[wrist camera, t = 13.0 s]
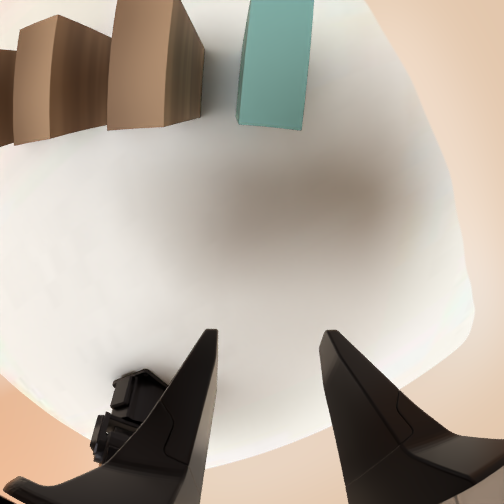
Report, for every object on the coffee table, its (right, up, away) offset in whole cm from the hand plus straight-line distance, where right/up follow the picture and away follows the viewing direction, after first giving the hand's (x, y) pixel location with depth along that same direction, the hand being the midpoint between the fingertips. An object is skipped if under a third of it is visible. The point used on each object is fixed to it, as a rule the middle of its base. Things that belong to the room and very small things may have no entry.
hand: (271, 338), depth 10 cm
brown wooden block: (-9, +14, +7) cm, 19 cm away
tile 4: (-5, +14, +7) cm, 17 cm away
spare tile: (-1, +14, +7) cm, 16 cm away
